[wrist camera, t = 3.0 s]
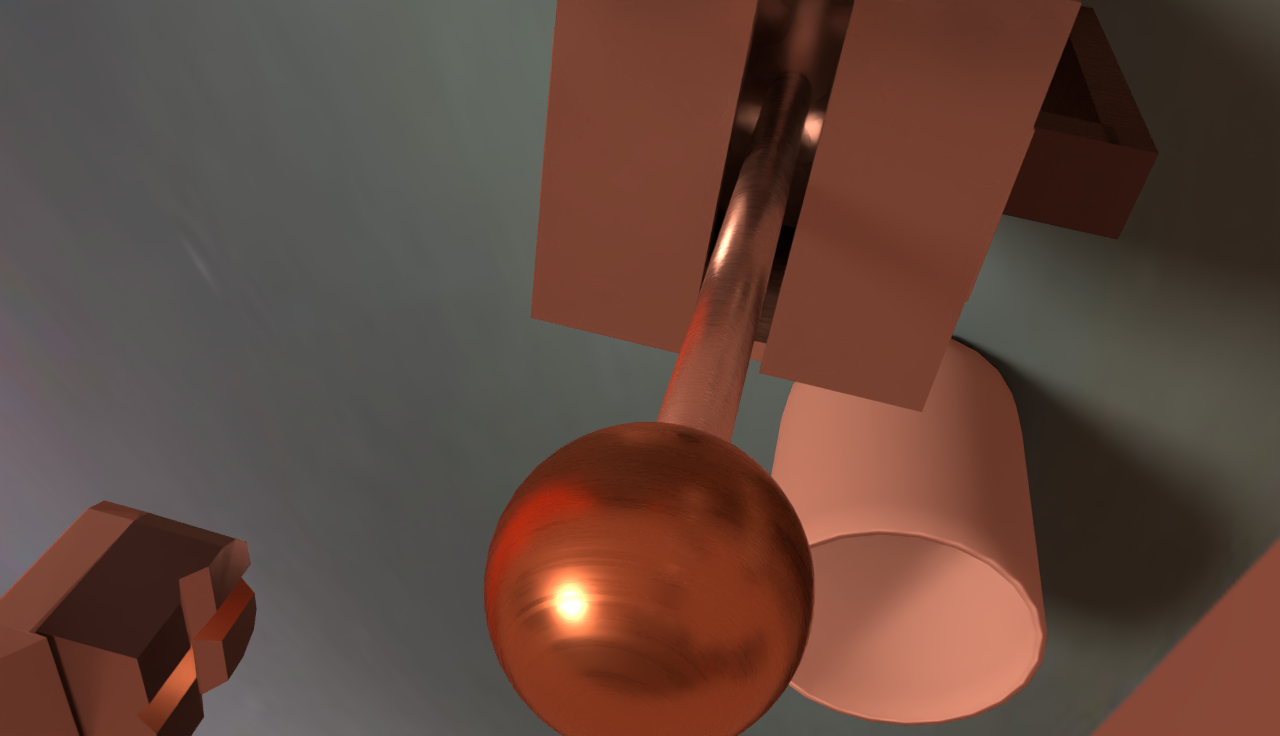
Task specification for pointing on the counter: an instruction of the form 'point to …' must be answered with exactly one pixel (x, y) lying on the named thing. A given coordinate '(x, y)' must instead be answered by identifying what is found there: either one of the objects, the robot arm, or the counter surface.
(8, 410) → the counter surface
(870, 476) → the mug
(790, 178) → the copper ball on rod
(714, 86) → the press carafe
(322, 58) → the counter surface
